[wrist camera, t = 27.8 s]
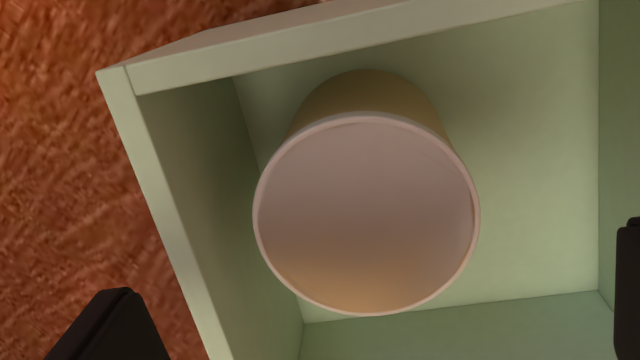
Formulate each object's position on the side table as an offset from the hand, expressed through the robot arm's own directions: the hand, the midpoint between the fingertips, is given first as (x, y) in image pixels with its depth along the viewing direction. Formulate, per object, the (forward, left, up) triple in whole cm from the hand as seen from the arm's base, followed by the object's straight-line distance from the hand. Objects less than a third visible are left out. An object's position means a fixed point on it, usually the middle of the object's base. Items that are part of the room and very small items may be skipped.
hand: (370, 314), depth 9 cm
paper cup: (0, +1, -12) cm, 12 cm away
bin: (-2, +2, -12) cm, 13 cm away
